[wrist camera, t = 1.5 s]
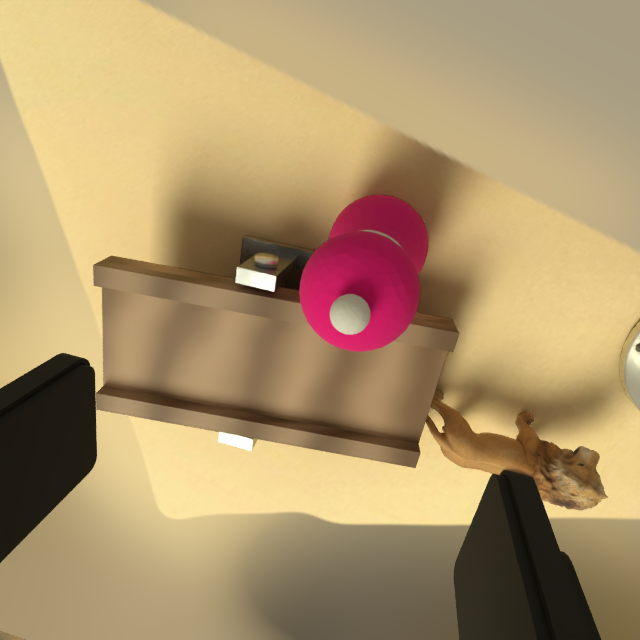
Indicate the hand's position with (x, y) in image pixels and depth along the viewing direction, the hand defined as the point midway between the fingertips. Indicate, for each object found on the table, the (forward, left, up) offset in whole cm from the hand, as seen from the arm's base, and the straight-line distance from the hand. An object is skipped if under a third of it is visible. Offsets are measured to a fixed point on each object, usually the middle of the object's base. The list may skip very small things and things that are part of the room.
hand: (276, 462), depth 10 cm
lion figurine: (-14, +14, -30) cm, 36 cm away
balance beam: (+6, +11, -25) cm, 28 cm away
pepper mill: (0, 0, -30) cm, 30 cm away
